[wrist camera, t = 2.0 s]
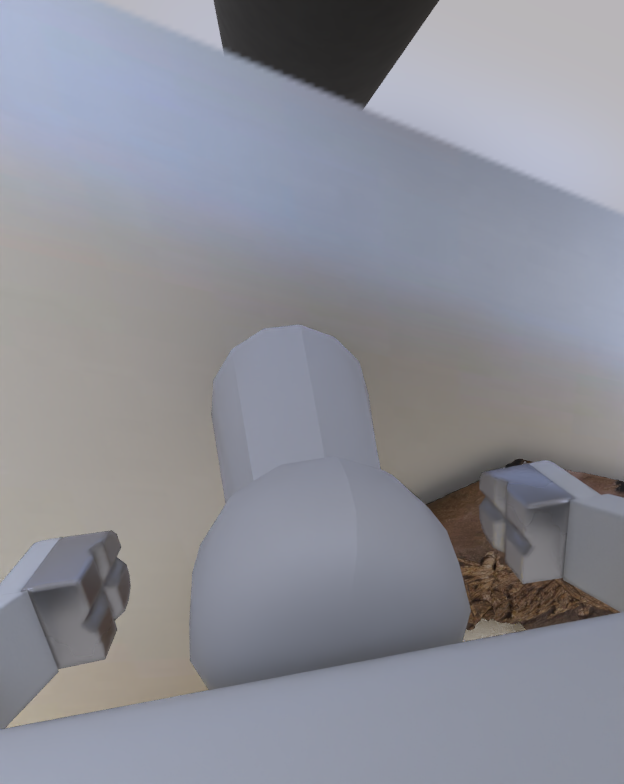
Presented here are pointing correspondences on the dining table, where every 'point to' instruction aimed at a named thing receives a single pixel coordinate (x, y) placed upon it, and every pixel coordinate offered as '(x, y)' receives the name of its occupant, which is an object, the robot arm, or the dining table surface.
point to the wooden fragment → (497, 581)
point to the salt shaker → (312, 525)
